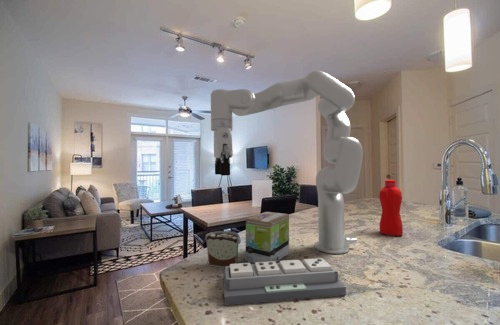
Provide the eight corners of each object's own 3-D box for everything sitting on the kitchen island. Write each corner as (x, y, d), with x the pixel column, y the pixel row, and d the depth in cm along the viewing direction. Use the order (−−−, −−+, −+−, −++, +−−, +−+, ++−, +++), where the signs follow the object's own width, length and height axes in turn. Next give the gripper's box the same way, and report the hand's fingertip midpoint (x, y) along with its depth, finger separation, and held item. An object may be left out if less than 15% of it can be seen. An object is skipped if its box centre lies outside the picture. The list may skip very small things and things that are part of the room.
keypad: (321, 270, 74) (321, 255, 74) (345, 295, 60) (345, 276, 60) (223, 277, 70) (223, 261, 70) (224, 305, 56) (224, 285, 56)
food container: (246, 262, 81) (246, 232, 81) (239, 269, 75) (239, 237, 75) (213, 257, 85) (213, 229, 85) (204, 264, 79) (204, 234, 79)
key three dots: (322, 265, 69) (322, 257, 69) (331, 274, 64) (331, 265, 64) (303, 266, 68) (303, 258, 69) (311, 275, 63) (311, 266, 63)
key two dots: (250, 270, 66) (250, 262, 66) (253, 279, 61) (252, 270, 61) (229, 271, 66) (229, 263, 66) (230, 281, 60) (230, 272, 60)
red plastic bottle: (402, 231, 115) (402, 179, 115) (402, 237, 106) (401, 180, 106) (380, 229, 120) (380, 179, 120) (379, 234, 111) (378, 180, 111)
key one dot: (298, 267, 68) (298, 258, 68) (306, 276, 63) (305, 267, 63) (279, 268, 68) (279, 260, 68) (285, 277, 62) (285, 268, 62)
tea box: (271, 268, 76) (270, 221, 76) (244, 261, 81) (244, 218, 81) (289, 253, 88) (289, 213, 88) (265, 248, 94) (265, 210, 94)
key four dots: (274, 268, 67) (274, 260, 67) (279, 277, 62) (279, 269, 62) (255, 270, 67) (255, 261, 67) (258, 279, 61) (258, 270, 61)
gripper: (238, 122, 77) (239, 175, 77) (226, 130, 94) (226, 173, 94) (215, 121, 75) (216, 176, 75) (207, 129, 91) (207, 174, 91)
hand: (222, 174), depth 84 cm, fingers open, 9 cm apart
